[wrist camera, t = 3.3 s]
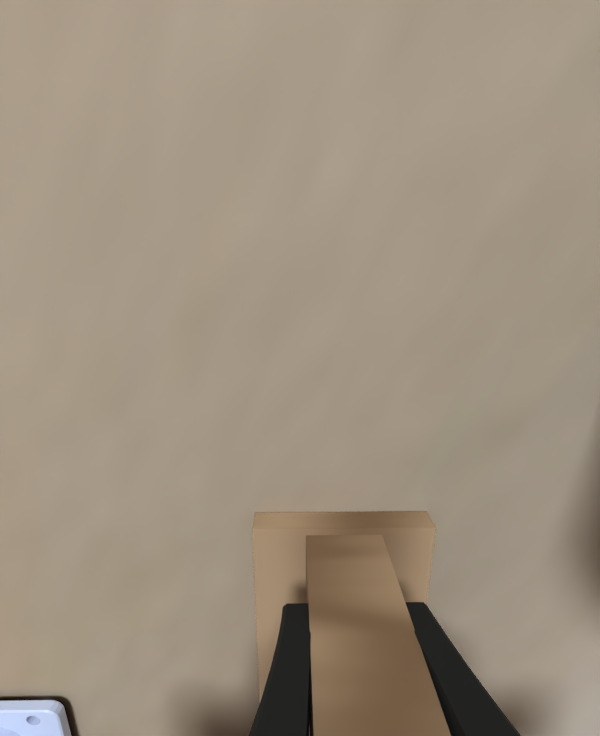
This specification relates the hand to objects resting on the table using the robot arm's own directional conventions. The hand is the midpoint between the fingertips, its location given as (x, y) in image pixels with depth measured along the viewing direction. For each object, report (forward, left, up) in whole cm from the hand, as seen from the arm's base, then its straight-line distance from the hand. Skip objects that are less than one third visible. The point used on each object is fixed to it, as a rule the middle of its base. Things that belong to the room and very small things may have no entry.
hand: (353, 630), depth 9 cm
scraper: (0, -10, -3) cm, 10 cm away
